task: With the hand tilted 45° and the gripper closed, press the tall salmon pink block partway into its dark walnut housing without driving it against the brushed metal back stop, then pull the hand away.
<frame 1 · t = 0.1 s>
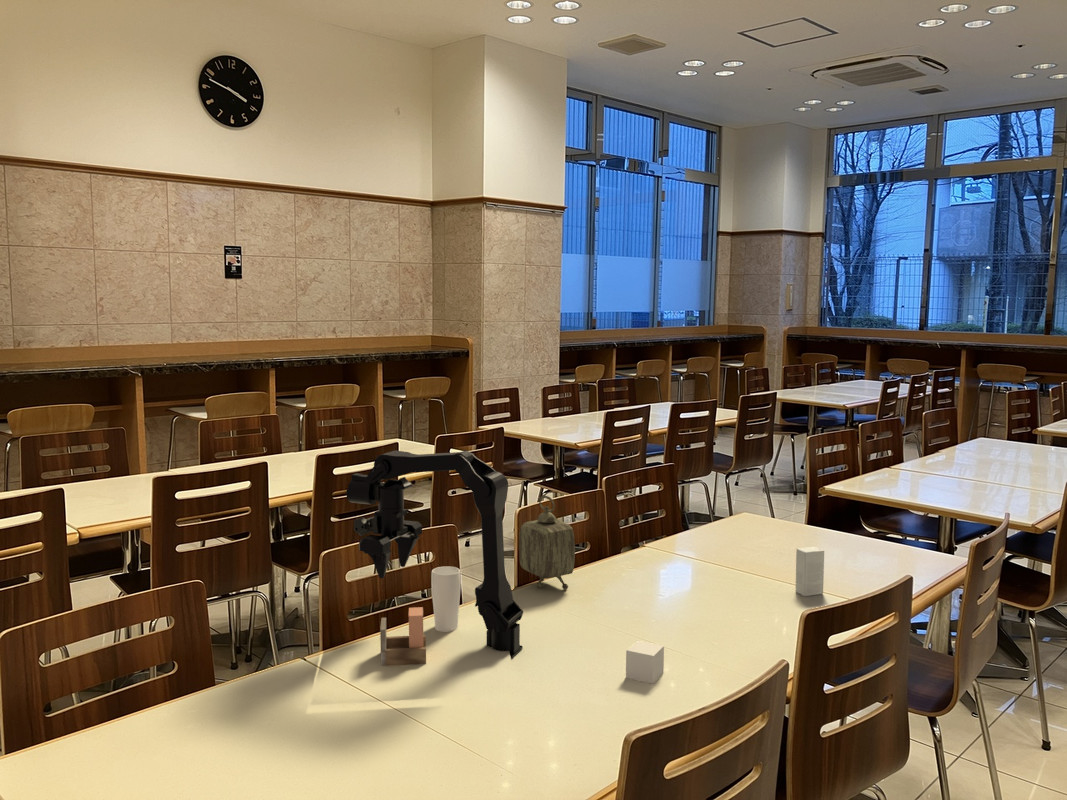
hand: (392, 572, 203), 15 cm above the table, tool pointing down, fingers open, 9 cm apart
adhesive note: (644, 676, 182), on the table
skincare box: (808, 593, 234), on the table
salmon pink block: (416, 634, 187), point 6 cm above the table, slide at 0.0 cm
drinking glass: (446, 633, 205), on the table
key housing: (416, 662, 188), on the table
tabletop clock: (545, 587, 238), on the table
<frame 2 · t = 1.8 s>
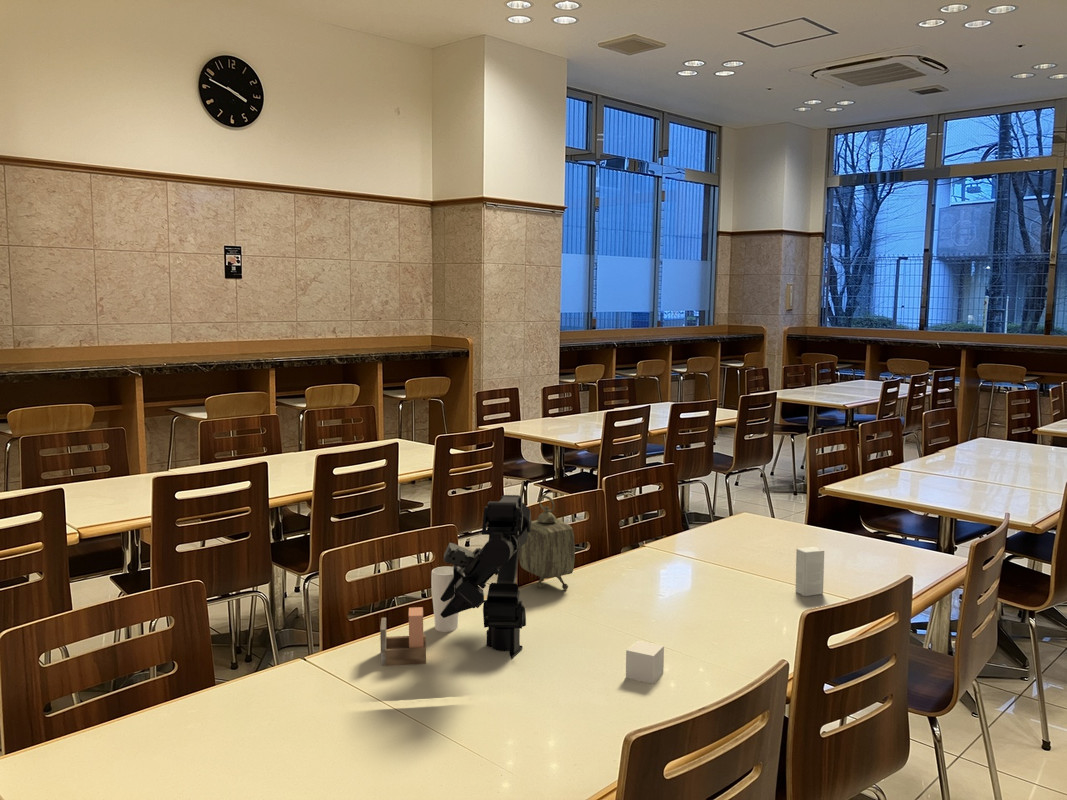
hand: (441, 608, 188), 12 cm above the table, tool tilted 45°, fingers open, 9 cm apart
nothing on the table moved.
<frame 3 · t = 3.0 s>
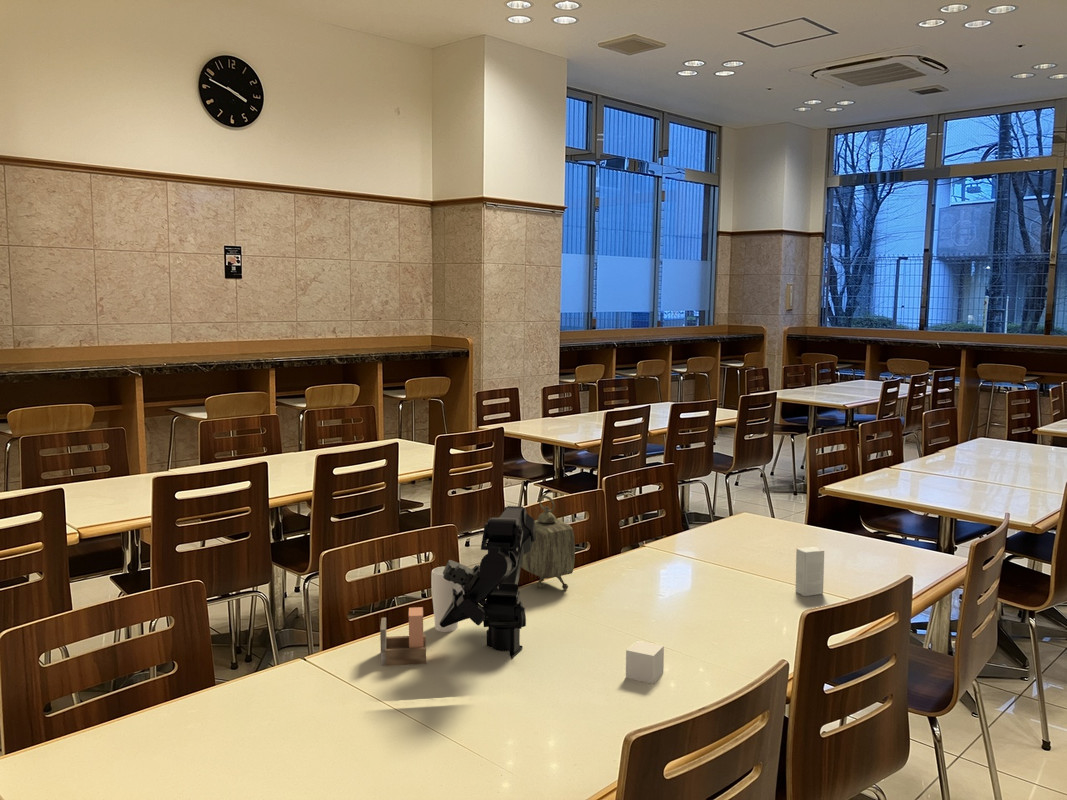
hand: (440, 625, 188), 8 cm above the table, tool tilted 45°, fingers closed
nothing on the table moved.
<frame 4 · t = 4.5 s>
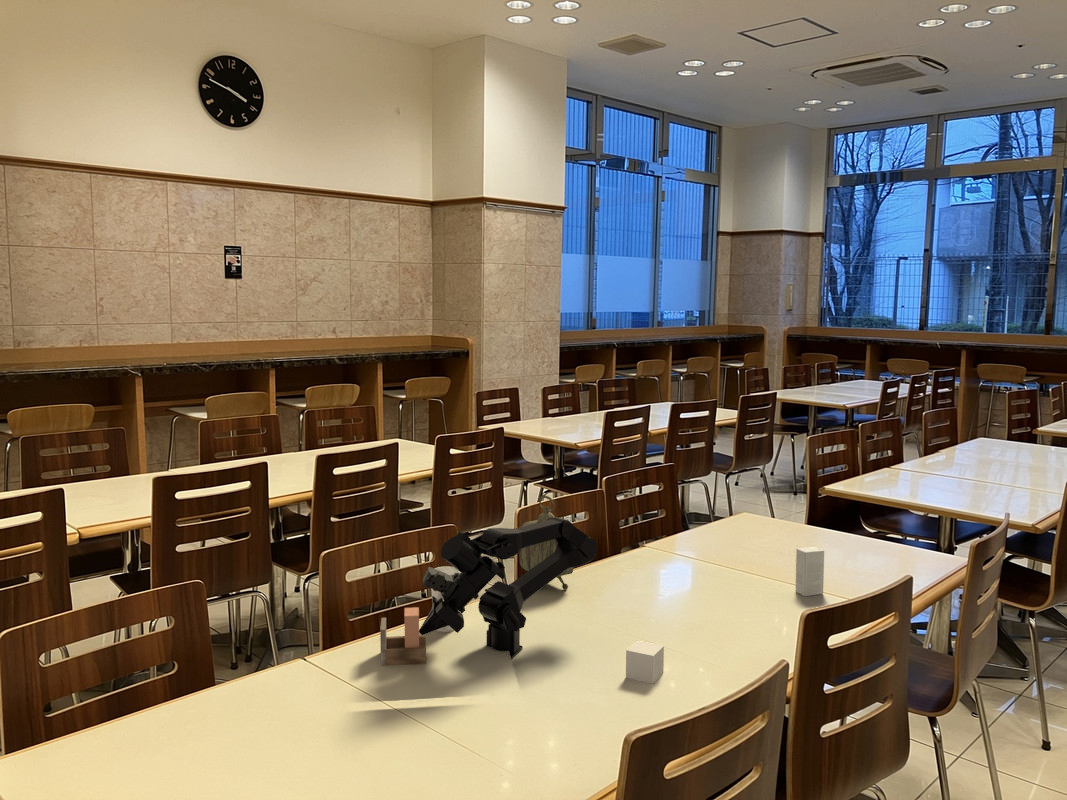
hand: (420, 633, 187), 7 cm above the table, tool tilted 45°, fingers closed, pressing on salmon pink block
salmon pink block: (412, 634, 187), point 6 cm above the table, slide at 0.9 cm, touching gripper
everything else where it was.
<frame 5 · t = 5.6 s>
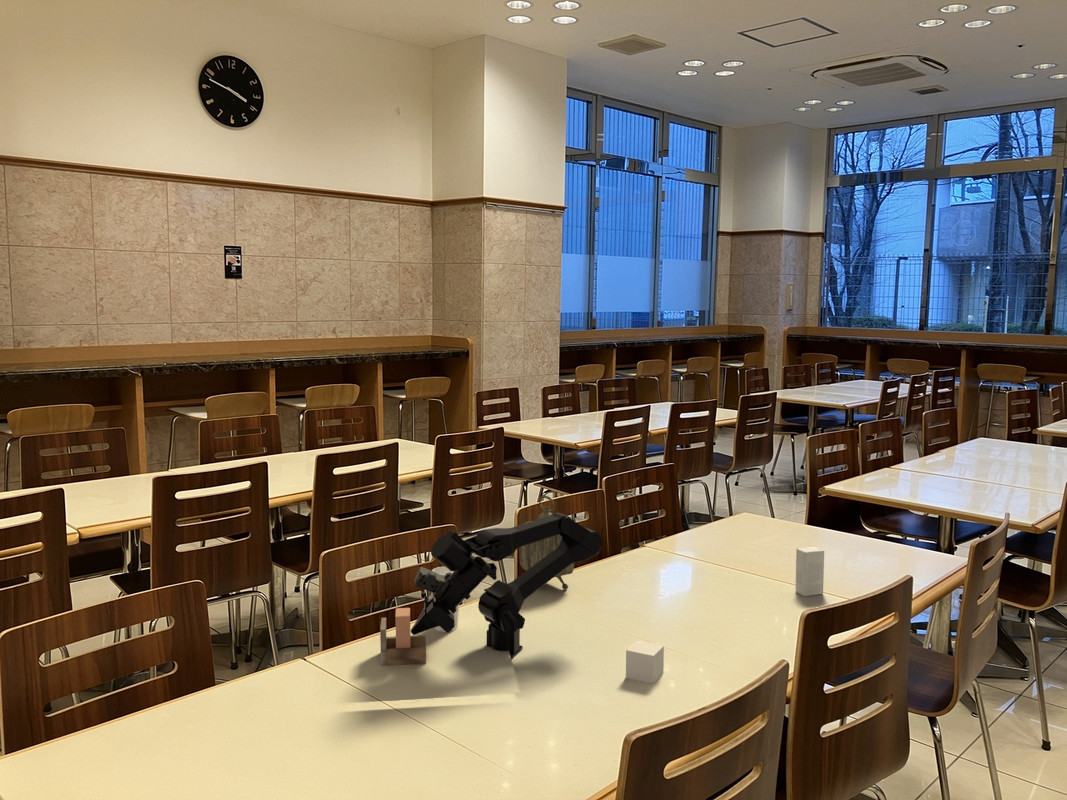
hand: (412, 633, 187), 7 cm above the table, tool tilted 45°, fingers closed
salmon pink block: (403, 634, 187), point 6 cm above the table, slide at 2.7 cm
everything else where it was.
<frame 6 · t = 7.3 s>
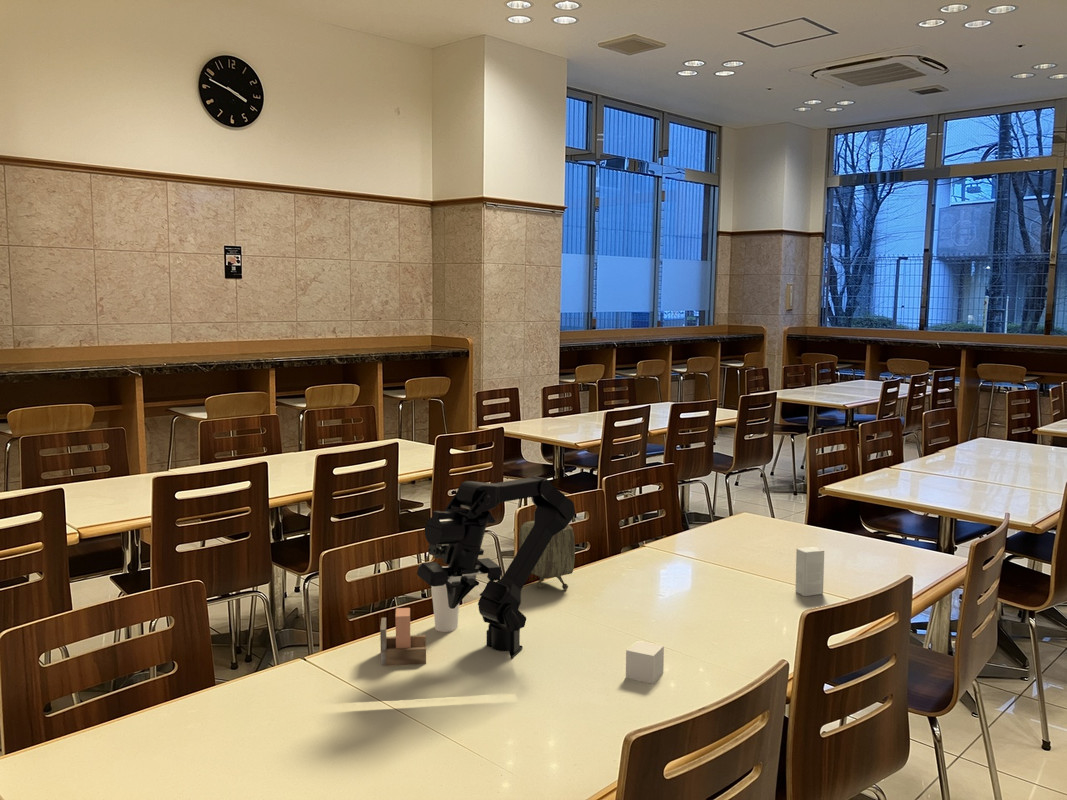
hand: (451, 607, 188), 12 cm above the table, tool tilted 15°, fingers closed
nothing on the table moved.
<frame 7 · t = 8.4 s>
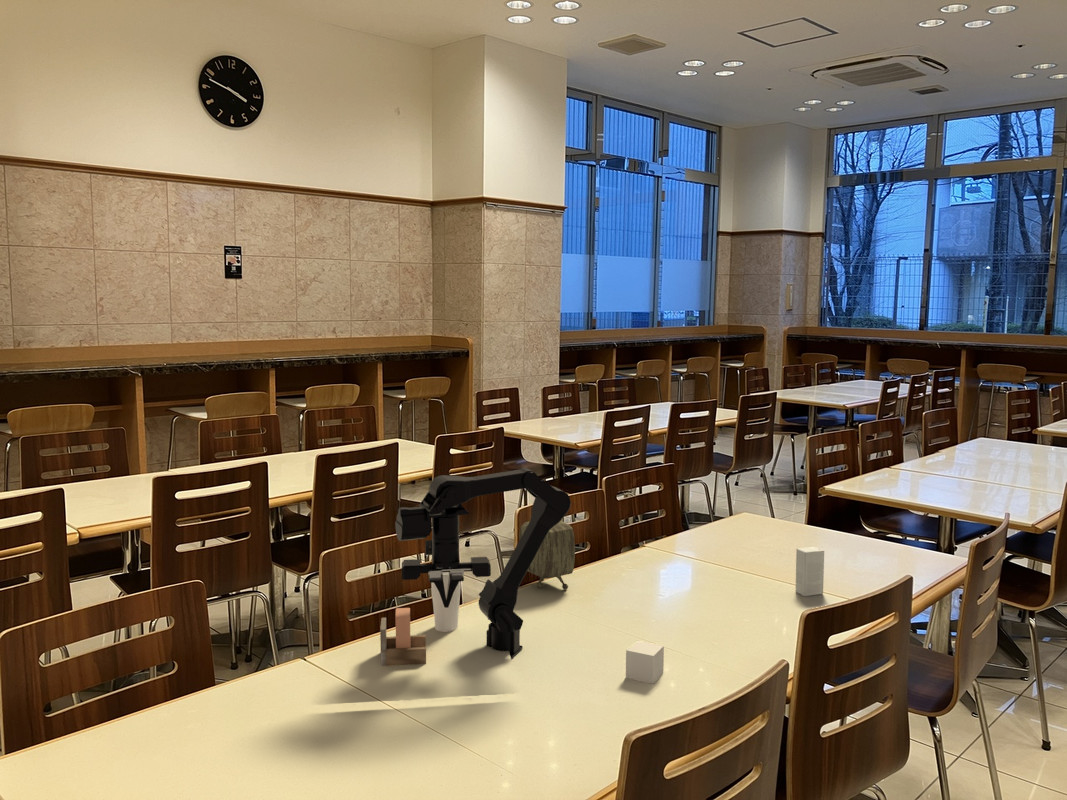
hand: (446, 607, 188), 12 cm above the table, tool pointing down, fingers closed
nothing on the table moved.
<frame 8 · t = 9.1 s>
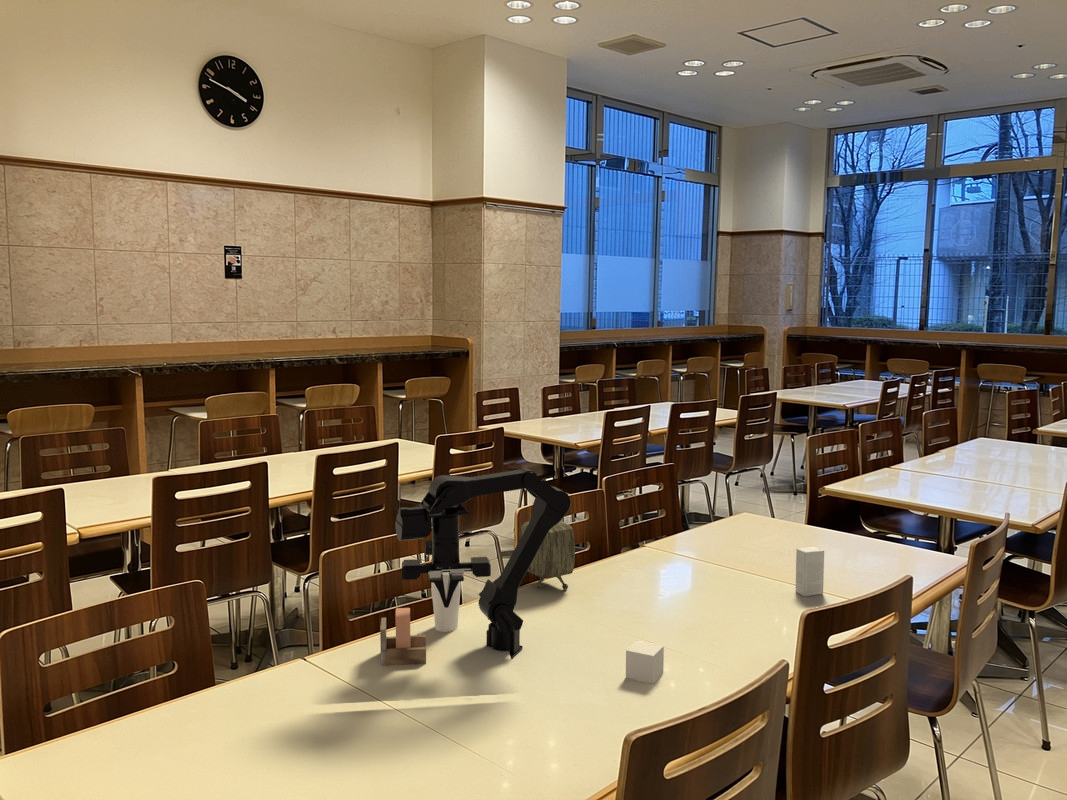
hand: (446, 607, 188), 12 cm above the table, tool pointing down, fingers closed
nothing on the table moved.
at the end: salmon pink block slide at 2.7 cm; drinking glass moved 0.2 cm from its start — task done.
